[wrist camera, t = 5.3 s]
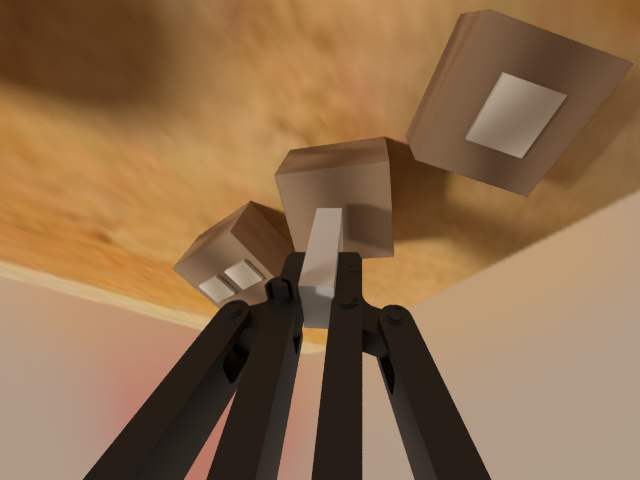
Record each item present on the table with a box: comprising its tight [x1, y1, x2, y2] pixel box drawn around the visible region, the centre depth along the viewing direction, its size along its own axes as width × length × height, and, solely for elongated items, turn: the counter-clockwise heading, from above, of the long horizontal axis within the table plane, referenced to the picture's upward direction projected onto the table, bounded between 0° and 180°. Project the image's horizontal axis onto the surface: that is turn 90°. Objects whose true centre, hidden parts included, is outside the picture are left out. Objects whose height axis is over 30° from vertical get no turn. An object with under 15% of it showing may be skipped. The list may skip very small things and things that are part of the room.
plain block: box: [274, 137, 394, 259], centre depth 22 cm, size 7×7×5 cm
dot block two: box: [173, 201, 295, 309], centre depth 26 cm, size 7×7×5 cm
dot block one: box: [406, 9, 634, 197], centre depth 17 cm, size 7×7×5 cm
